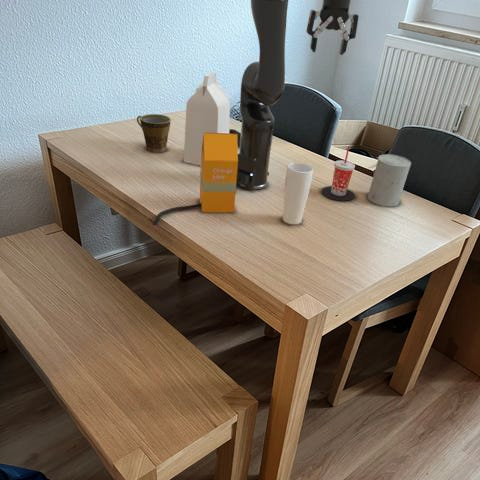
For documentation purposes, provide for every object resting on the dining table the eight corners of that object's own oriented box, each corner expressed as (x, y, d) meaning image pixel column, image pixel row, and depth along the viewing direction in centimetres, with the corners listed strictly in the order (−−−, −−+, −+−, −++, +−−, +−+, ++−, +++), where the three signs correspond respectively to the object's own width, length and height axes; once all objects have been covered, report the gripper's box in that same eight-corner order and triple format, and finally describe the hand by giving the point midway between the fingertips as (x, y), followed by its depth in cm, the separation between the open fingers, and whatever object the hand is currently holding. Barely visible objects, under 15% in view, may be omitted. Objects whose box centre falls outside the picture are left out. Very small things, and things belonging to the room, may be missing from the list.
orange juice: (233, 212, 131) (240, 139, 118) (201, 212, 129) (204, 137, 117) (229, 199, 137) (235, 128, 124) (199, 199, 135) (201, 127, 122)
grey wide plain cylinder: (363, 192, 149) (374, 153, 142) (392, 193, 150) (404, 155, 143) (372, 205, 142) (384, 165, 134) (403, 207, 143) (416, 167, 135)
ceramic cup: (176, 149, 164) (176, 119, 158) (157, 156, 157) (157, 125, 151) (148, 139, 169) (146, 110, 163) (128, 146, 162) (126, 116, 156)
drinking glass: (306, 218, 132) (316, 165, 122) (300, 229, 127) (310, 174, 117) (283, 213, 133) (291, 160, 124) (276, 223, 128) (284, 169, 119)
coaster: (345, 204, 141) (345, 203, 141) (315, 193, 145) (316, 192, 145) (359, 194, 148) (359, 193, 147) (331, 184, 152) (331, 183, 152)
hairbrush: (233, 122, 183) (272, 141, 167) (233, 132, 185) (271, 151, 169) (215, 125, 179) (252, 143, 163) (215, 135, 182) (252, 154, 165)
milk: (216, 168, 154) (221, 81, 137) (183, 161, 156) (184, 74, 140) (228, 157, 163) (234, 73, 146) (197, 150, 165) (200, 67, 149)
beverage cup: (349, 197, 144) (361, 151, 135) (329, 195, 144) (339, 149, 135) (346, 189, 149) (357, 144, 140) (327, 187, 149) (336, 142, 140)
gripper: (316, -14, 128) (306, 53, 139) (367, -9, 130) (353, 57, 140) (311, -17, 134) (302, 48, 144) (360, -12, 136) (347, 52, 146)
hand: (327, 53), depth 142 cm, fingers open, 8 cm apart
